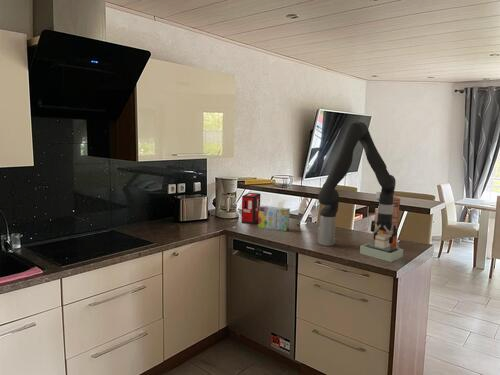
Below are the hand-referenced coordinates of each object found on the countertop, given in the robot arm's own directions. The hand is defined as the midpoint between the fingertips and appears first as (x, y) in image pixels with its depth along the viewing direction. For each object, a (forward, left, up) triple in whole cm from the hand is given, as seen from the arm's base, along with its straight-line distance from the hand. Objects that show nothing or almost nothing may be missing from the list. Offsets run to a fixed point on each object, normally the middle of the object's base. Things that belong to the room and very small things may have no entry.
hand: (382, 241), depth 204 cm
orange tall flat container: (-11, +24, -9) cm, 28 cm away
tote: (0, 0, -8) cm, 8 cm away
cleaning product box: (-103, -1, -9) cm, 104 cm away
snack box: (-78, -3, -9) cm, 79 cm away
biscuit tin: (0, 0, -8) cm, 8 cm away
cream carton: (0, 0, -3) cm, 3 cm away
